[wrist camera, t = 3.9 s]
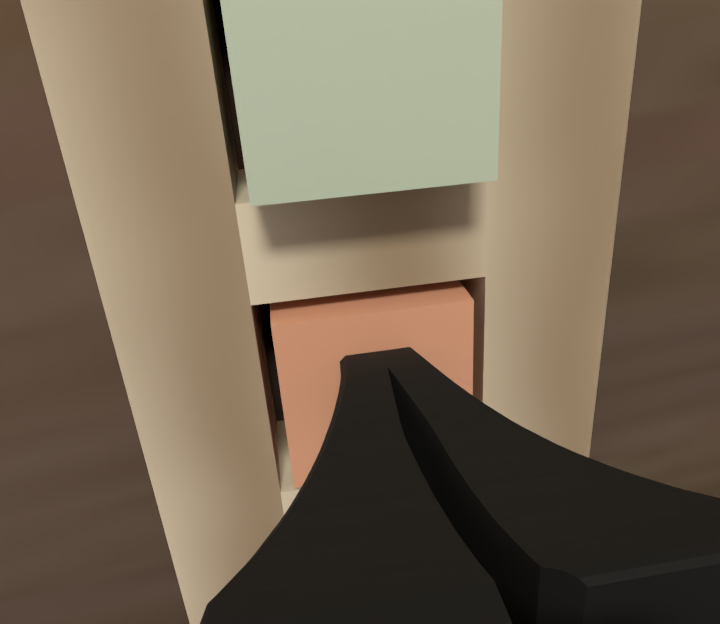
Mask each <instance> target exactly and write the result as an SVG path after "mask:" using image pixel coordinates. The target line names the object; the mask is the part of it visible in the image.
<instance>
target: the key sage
mask: <svg viewBox="0 0 720 624" xmlns="http://www.w3.org/2000/svg"><path fill="white" fill-rule="evenodd" d="M220 4H221V11H222V17H223V24H224V31H225V38H226V45H227V51H228V58H229V65H230V72H231V79H232V85H233V92H234V99H235V106H236V112H237V119H238V126H239V133H240V140H241V146H242V153H243V160H244V167H245V174H246V180H247V187H248V194H249V201H250V207H252V206H262V205H271V204H280V203H290V202H299V201H309V200H318V199H327V198H337V197H346V196H355V195H365V194H374V193H384V192H393V191H402V190H412V189H421V188H431V187H440V186H449V185H459V184H468V183H477V182H487V181H496V180H498V147H499V113H500V78H501V44H502V10H503V0H220Z"/></svg>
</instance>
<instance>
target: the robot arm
mask: <svg viewBox="0 0 720 624" xmlns="http://www.w3.org/2000/svg"><path fill="white" fill-rule="evenodd" d="M340 371H341V381H340V387H339V393H338V397H337V401H336V405H335V409H334V413H333V416H332V419H331V422H330V425H329V428H328V430H327V433H326V436H325V439H324V441H323V444H322V447H321V449H320V451H319V453H318V456H317V458H316V460H315V462H314V464H313V466H312V468H311V470H310V472H309V474H308V476H307V478H306V480H305V482H304V484H303V485H302V487H301V489H300V490H299V492H298V494H297V495H296V497H295V499H294V500H293V502H292V504H291V505H290V507H289V508H288V510H287V511H286V513H285V514H284V516H283V517H282V519H281V520H280V522H279V523H278V524H277V525H276V527H275V528H274V529H273V531H272V532H271V533H270V535H269V536H268V537H267V538H266V540H265V541H264V542H263V544H262V545H261V546H260V548H259V549H258V550H257V551H256V553H255V554H254V555H253V556H252V558H251V559H250V560H249V561H248V562H247V563H246V564H245V566H244V567H243V568H242V569H241V570H240V571H239V572H238V573H237V574H236V575H235V576H234V577H233V578H232V579H231V580H230V581H229V582H228V583H227V584H226V585H225V587H224V588H223V589H222V590H221V591H220V592H219V593H218V594H217V595H216V596H215V597H214V598H213V599H212V600H211V601H210V602H209V603H208V604H207V606H206V608H205V611H204V614H203V616H202V619H201V622H200V624H720V498H717V497H712V496H708V495H704V494H700V493H695V492H691V491H687V490H683V489H679V488H676V487H672V486H669V485H666V484H663V483H659V482H656V481H653V480H650V479H646V478H643V477H640V476H637V475H634V474H631V473H628V472H625V471H622V470H619V469H616V468H614V467H611V466H608V465H605V464H603V463H600V462H598V461H596V460H593V459H591V458H588V457H586V456H583V455H581V454H578V453H576V452H573V451H571V450H569V449H567V448H564V447H562V446H560V445H558V444H556V443H553V442H551V441H549V440H548V439H546V438H544V437H542V436H540V435H538V434H536V433H534V432H532V431H530V430H528V429H526V428H524V427H522V426H520V425H519V424H517V423H515V422H513V421H512V420H510V419H508V418H507V417H505V416H503V415H502V414H500V413H499V412H497V411H495V410H494V409H492V408H491V407H489V406H487V405H486V404H484V403H483V402H481V401H480V400H478V399H477V398H476V397H474V396H473V395H471V394H470V393H468V392H467V391H466V390H464V389H463V388H461V387H460V386H459V385H457V384H456V383H455V382H453V381H452V380H451V379H449V378H448V377H447V376H446V375H444V374H443V373H442V372H441V371H439V370H438V369H437V368H436V367H434V366H433V365H432V364H431V363H429V362H428V361H427V360H426V359H424V358H423V357H422V356H421V355H420V354H418V353H417V352H416V351H415V350H413V349H412V348H411V347H405V348H398V349H391V350H384V351H376V352H369V353H361V354H353V355H346V356H344V358H343V359H342V360H341V361H340Z"/></svg>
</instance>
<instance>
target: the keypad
mask: <svg viewBox="0 0 720 624" xmlns="http://www.w3.org/2000/svg"><path fill="white" fill-rule="evenodd" d="M20 1H21V5H22V8H23V12H24V16H25V19H26V23H27V27H28V30H29V34H30V38H31V41H32V45H33V49H34V52H35V56H36V60H37V63H38V67H39V71H40V74H41V78H42V82H43V85H44V89H45V93H46V96H47V100H48V104H49V108H50V111H51V115H52V119H53V122H54V126H55V130H56V133H57V137H58V141H59V144H60V148H61V152H62V155H63V159H64V163H65V166H66V170H67V174H68V177H69V181H70V185H71V188H72V192H73V196H74V199H75V203H76V207H77V211H78V214H79V218H80V222H81V225H82V229H83V233H84V236H85V240H86V244H87V247H88V251H89V255H90V258H91V262H92V266H93V269H94V273H95V277H96V280H97V284H98V288H99V291H100V295H101V299H102V302H103V306H104V310H105V314H106V317H107V321H108V325H109V328H110V332H111V336H112V339H113V343H114V347H115V350H116V354H117V358H118V361H119V365H120V369H121V372H122V376H123V380H124V383H125V387H126V391H127V394H128V398H129V402H130V405H131V409H132V413H133V417H134V420H135V424H136V428H137V431H138V435H139V439H140V442H141V446H142V450H143V453H144V457H145V461H146V464H147V468H148V472H149V475H150V479H151V483H152V486H153V490H154V494H155V497H156V501H157V505H158V508H159V512H160V516H161V520H162V523H163V527H164V531H165V534H166V538H167V542H168V545H169V549H170V553H171V556H172V560H173V564H174V567H175V571H176V575H177V578H178V582H179V586H180V589H181V593H182V597H183V600H184V604H185V608H186V611H187V615H188V619H189V623H190V624H200V622H201V619H202V616H203V614H204V611H205V608H206V606H207V604H208V603H209V602H210V601H211V600H212V599H213V598H214V597H215V596H216V595H217V594H218V593H219V592H220V591H221V590H222V589H223V588H224V587H225V585H226V584H227V583H228V582H229V581H230V580H231V579H232V578H233V577H234V576H235V575H236V574H237V573H238V572H239V571H240V570H241V569H242V568H243V567H244V566H245V564H246V563H247V562H248V561H249V560H250V559H251V558H252V556H253V555H254V554H255V553H256V551H257V550H258V549H259V548H260V546H261V545H262V544H263V542H264V541H265V540H266V538H267V537H268V536H269V535H270V533H271V532H272V531H273V529H274V528H275V527H276V525H277V524H278V523H279V522H280V520H281V519H282V517H283V516H284V514H285V513H286V511H287V510H288V508H289V507H290V505H291V504H292V502H293V500H294V499H295V497H296V495H297V494H298V492H299V490H300V489H301V487H299V488H294V482H293V475H292V468H291V462H290V455H289V448H288V441H287V434H286V427H285V420H281V421H277V419H276V413H275V406H274V400H273V393H272V387H271V380H270V373H269V367H268V360H267V354H266V347H265V340H264V334H263V327H262V321H261V314H260V307H259V304H267V303H275V302H284V301H292V300H300V299H308V298H316V297H324V296H332V295H341V294H349V293H357V292H365V291H373V290H381V289H389V288H398V287H406V286H414V285H422V284H430V283H438V282H447V281H455V280H459V281H460V282H461V284H462V285H463V286H464V288H465V289H466V290H467V292H468V293H469V294H470V296H471V297H472V298H473V300H474V332H473V396H474V397H476V398H477V399H478V400H480V401H481V402H483V403H484V404H486V405H487V406H489V407H491V408H492V409H494V410H495V411H497V412H499V413H500V414H502V415H503V416H505V417H507V418H508V419H510V420H512V421H513V422H515V423H517V424H519V425H520V426H522V427H524V428H526V429H528V430H530V431H532V432H534V433H536V434H538V435H540V436H542V437H544V438H546V439H548V440H549V441H551V442H553V443H556V444H558V445H560V446H562V447H564V448H567V449H569V450H571V451H573V452H576V453H578V454H581V455H583V456H586V457H588V458H589V453H590V444H591V436H592V427H593V418H594V410H595V401H596V393H597V384H598V375H599V367H600V358H601V349H602V341H603V332H604V323H605V315H606V306H607V298H608V289H609V280H610V272H611V263H612V254H613V246H614V237H615V228H616V220H617V211H618V202H619V194H620V185H621V177H622V168H623V159H624V151H625V142H626V133H627V125H628V116H629V107H630V99H631V90H632V82H633V73H634V64H635V56H636V47H637V38H638V30H639V21H640V12H641V4H642V0H503V10H502V44H501V78H500V113H499V147H498V180H496V181H487V182H477V183H468V184H459V185H449V186H440V187H431V188H421V189H412V190H402V191H393V192H384V193H374V194H365V195H355V196H346V197H337V198H327V199H318V200H309V201H299V202H290V203H280V204H271V205H262V206H252V207H250V201H249V194H248V187H247V180H246V174H245V169H238V163H237V156H236V149H235V143H234V136H233V130H232V123H231V116H230V110H229V103H228V97H227V90H226V83H225V77H224V70H223V64H222V57H221V51H220V44H219V37H218V31H217V24H216V18H215V11H214V4H213V0H20Z"/></svg>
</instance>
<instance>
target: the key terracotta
mask: <svg viewBox="0 0 720 624" xmlns="http://www.w3.org/2000/svg"><path fill="white" fill-rule="evenodd" d="M270 320H271V331H272V338H273V344H274V351H275V358H276V365H277V372H278V379H279V386H280V393H281V400H282V406H283V413H284V420H285V427H286V434H287V441H288V448H289V455H290V462H291V468H292V475H293V482H294V488H299V487H302V485H303V484H304V482H305V480H306V478H307V476H308V474H309V472H310V470H311V468H312V466H313V464H314V462H315V460H316V458H317V456H318V453H319V451H320V449H321V447H322V444H323V441H324V439H325V436H326V433H327V430H328V428H329V425H330V422H331V419H332V416H333V413H334V409H335V405H336V401H337V397H338V393H339V387H340V381H341V371H340V361H341V360H342V359H343V358H344V356H346V355H353V354H361V353H369V352H376V351H384V350H391V349H398V348H405V347H411V348H412V349H413V350H415V351H416V352H417V353H418V354H420V355H421V356H422V357H423V358H424V359H426V360H427V361H428V362H429V363H431V364H432V365H433V366H434V367H436V368H437V369H438V370H439V371H441V372H442V373H443V374H444V375H446V376H447V377H448V378H449V379H451V380H452V381H453V382H455V383H456V384H457V385H459V386H460V387H461V388H463V389H464V390H466V391H467V392H468V393H470V394H471V395H473V332H474V300H473V298H472V297H471V296H470V294H469V293H468V292H467V290H466V289H465V288H464V286H463V285H462V284H461V282H460V281H459V280H455V281H447V282H438V283H430V284H422V285H414V286H406V287H398V288H389V289H381V290H373V291H365V292H357V293H349V294H341V295H332V296H324V297H316V298H308V299H300V300H292V301H284V302H275V303H270Z"/></svg>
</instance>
